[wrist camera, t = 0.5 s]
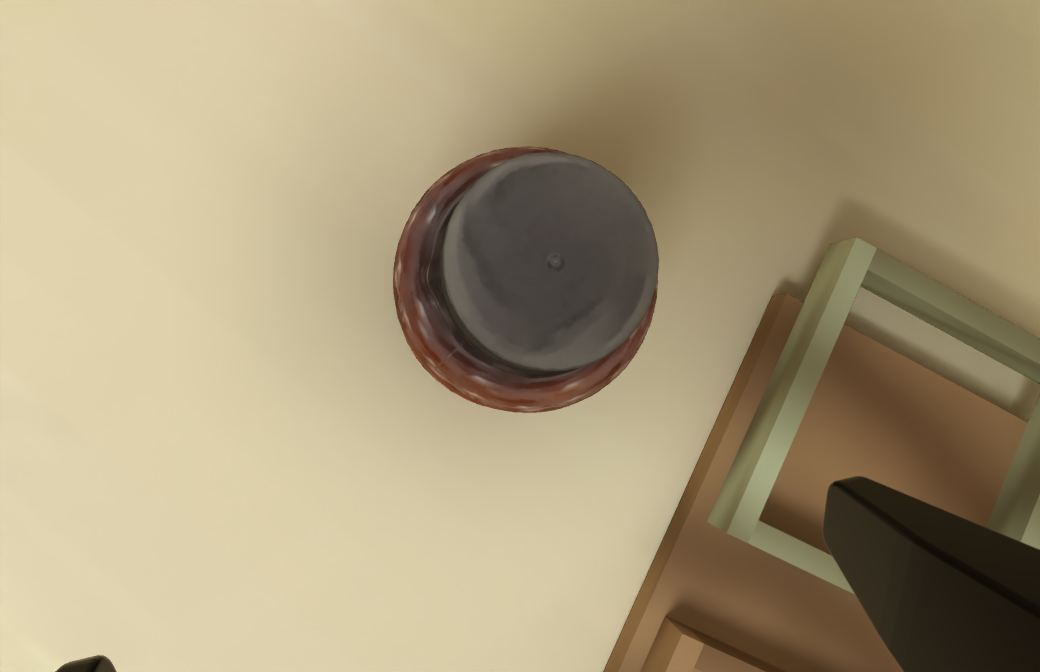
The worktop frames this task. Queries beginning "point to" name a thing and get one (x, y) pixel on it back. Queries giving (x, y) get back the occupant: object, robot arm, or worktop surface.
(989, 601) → the robot arm
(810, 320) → the wooden tray
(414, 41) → the worktop surface
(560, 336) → the supplement bottle
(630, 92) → the worktop surface
